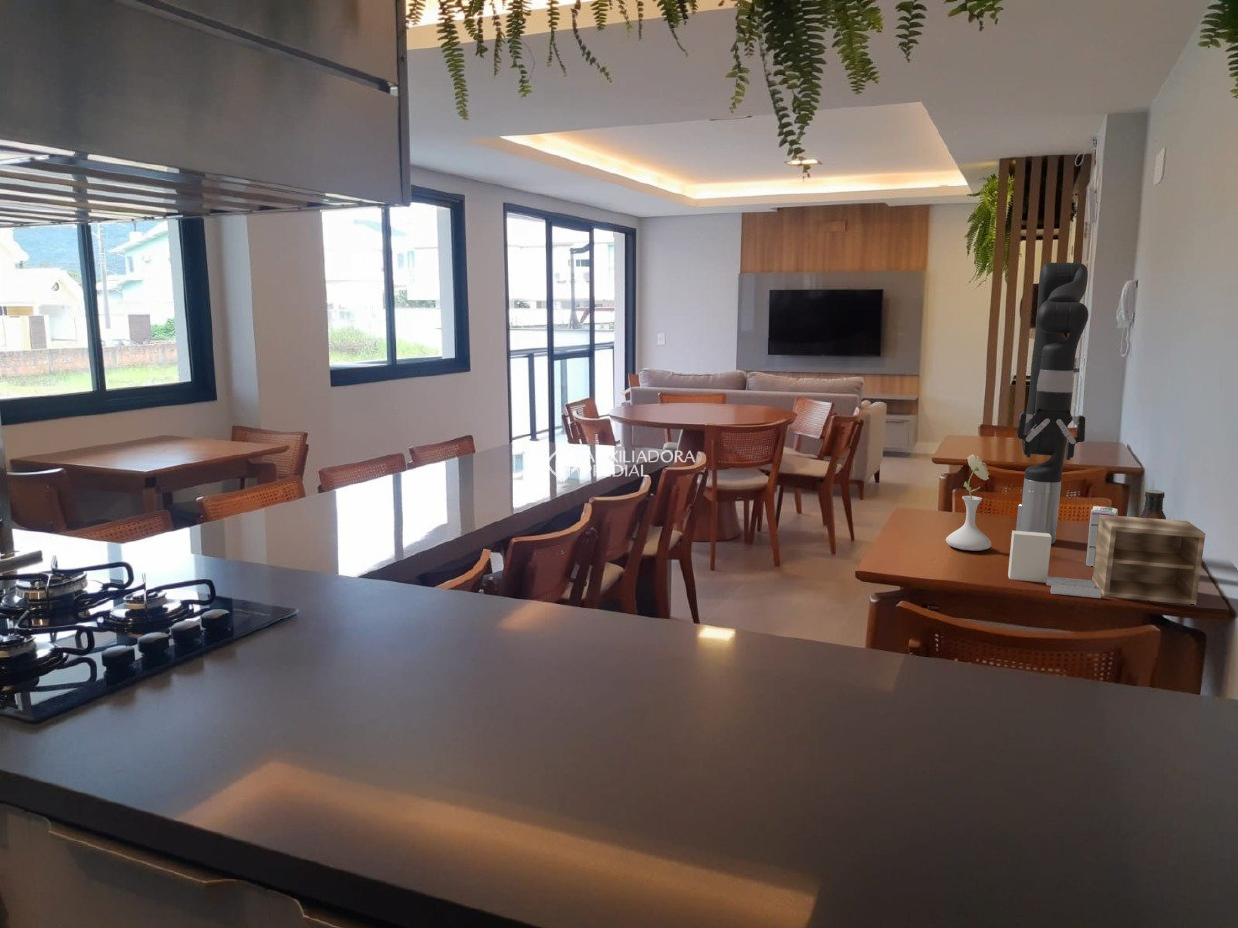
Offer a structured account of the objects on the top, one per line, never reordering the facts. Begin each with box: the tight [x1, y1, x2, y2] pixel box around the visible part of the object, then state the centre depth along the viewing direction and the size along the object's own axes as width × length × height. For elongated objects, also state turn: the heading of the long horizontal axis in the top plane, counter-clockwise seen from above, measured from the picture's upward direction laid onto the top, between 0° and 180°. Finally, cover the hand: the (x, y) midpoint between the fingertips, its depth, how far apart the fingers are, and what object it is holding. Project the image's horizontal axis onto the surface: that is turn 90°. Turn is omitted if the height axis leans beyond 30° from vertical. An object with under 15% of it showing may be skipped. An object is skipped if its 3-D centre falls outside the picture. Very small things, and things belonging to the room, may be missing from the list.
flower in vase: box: [945, 453, 993, 552], centre depth 233 cm, size 13×11×25 cm
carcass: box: [1091, 515, 1206, 606], centre depth 198 cm, size 18×12×16 cm, turn 73°
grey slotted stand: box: [1045, 575, 1102, 599], centre depth 199 cm, size 10×7×2 cm
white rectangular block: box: [1007, 530, 1052, 584], centre depth 207 cm, size 8×4×11 cm, turn 73°
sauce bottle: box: [1139, 489, 1167, 520], centre depth 215 cm, size 7×6×20 cm
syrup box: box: [1085, 505, 1119, 568], centre depth 220 cm, size 6×6×14 cm
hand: (1047, 458), depth 207 cm, fingers open, 8 cm apart
